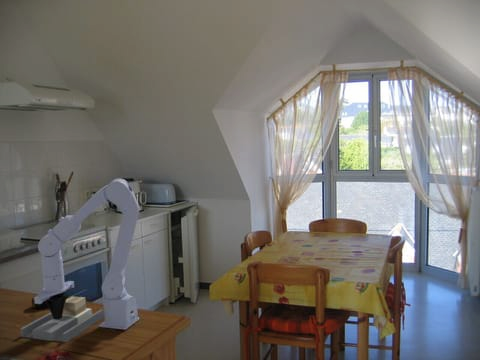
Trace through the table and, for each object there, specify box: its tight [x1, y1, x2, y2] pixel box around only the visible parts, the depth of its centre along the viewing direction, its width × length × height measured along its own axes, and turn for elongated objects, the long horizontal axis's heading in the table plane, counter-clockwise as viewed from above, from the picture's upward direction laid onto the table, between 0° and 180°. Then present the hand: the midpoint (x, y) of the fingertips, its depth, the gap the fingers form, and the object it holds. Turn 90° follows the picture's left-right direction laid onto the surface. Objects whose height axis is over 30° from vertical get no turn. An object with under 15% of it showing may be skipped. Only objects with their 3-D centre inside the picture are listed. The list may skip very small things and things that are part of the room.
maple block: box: [63, 296, 87, 316], centre depth 149 cm, size 5×5×4 cm
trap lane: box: [19, 307, 105, 343], centre depth 144 cm, size 16×18×2 cm
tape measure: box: [31, 294, 48, 309], centre depth 163 cm, size 7×7×4 cm
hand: (57, 318), depth 142 cm, fingers closed
